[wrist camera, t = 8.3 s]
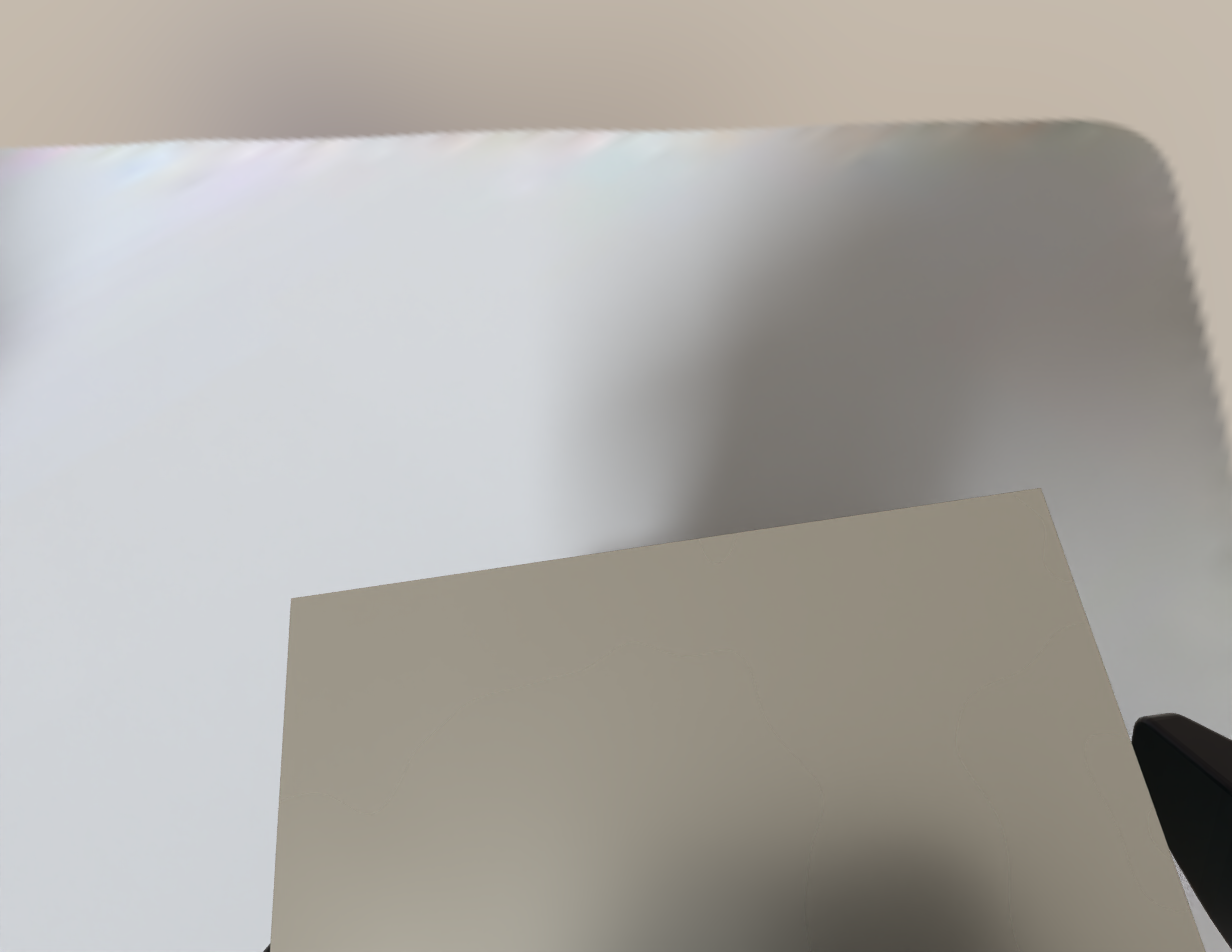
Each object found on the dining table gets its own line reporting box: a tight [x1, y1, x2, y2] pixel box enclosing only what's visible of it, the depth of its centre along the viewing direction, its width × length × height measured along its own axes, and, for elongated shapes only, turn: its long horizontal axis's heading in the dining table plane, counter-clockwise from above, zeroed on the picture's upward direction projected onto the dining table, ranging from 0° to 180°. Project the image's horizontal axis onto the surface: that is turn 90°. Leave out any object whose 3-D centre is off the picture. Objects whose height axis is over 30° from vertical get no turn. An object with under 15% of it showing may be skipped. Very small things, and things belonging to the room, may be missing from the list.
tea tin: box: [270, 488, 1205, 952], centre depth 10 cm, size 5×5×13 cm
